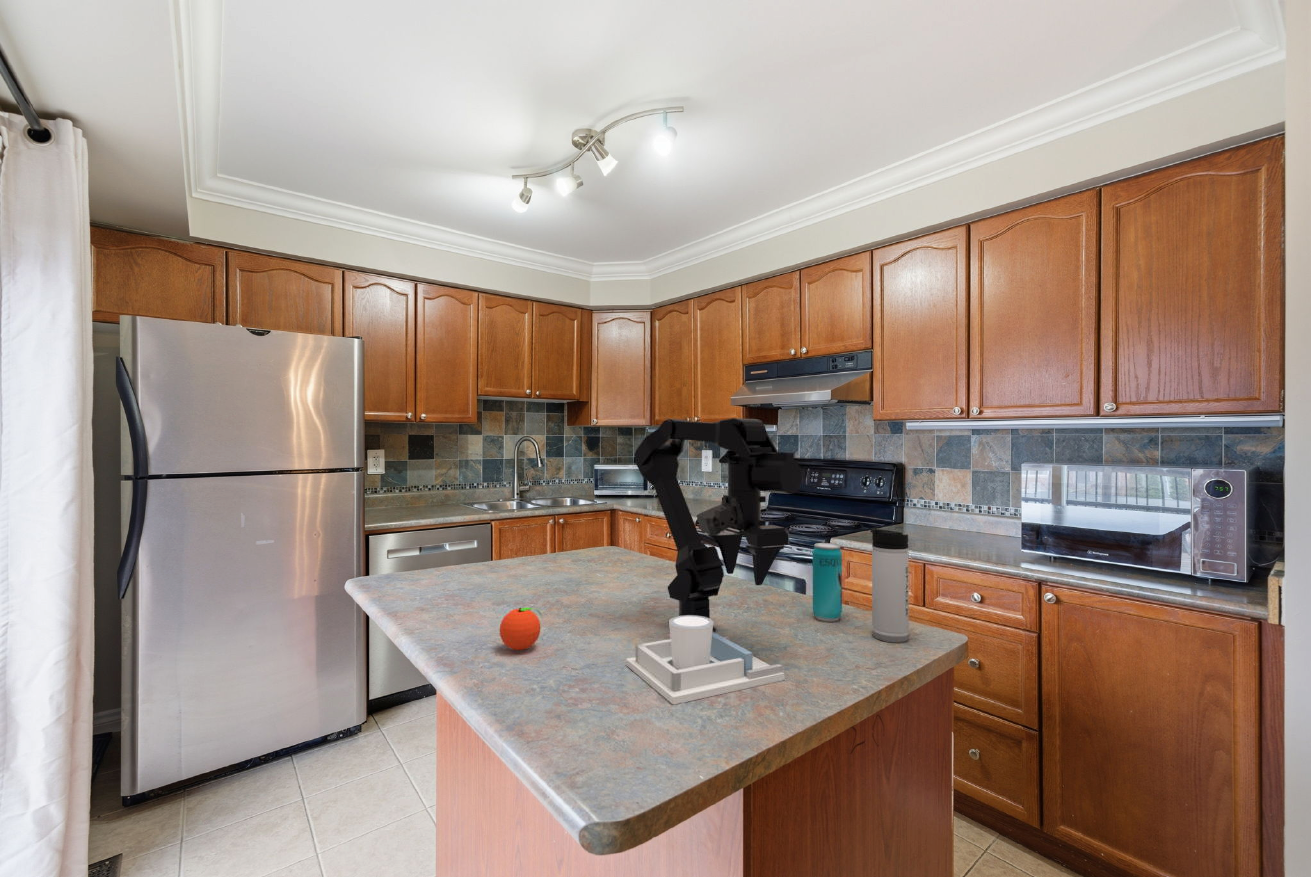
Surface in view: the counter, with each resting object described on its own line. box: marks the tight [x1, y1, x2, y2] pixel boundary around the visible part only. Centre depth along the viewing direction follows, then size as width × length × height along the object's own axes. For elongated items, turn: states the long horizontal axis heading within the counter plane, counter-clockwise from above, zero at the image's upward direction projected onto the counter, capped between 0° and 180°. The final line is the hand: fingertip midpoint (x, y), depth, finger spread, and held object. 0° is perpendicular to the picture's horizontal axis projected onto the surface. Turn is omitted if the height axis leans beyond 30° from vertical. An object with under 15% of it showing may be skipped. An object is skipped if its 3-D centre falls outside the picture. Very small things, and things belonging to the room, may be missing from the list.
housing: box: [625, 635, 785, 705], centre depth 90 cm, size 16×19×4 cm
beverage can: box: [812, 542, 843, 623], centre depth 119 cm, size 6×6×15 cm
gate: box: [710, 631, 754, 676], centre depth 92 cm, size 13×1×3 cm, turn 27°
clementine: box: [499, 607, 543, 651], centre depth 101 cm, size 8×7×7 cm
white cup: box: [668, 615, 714, 670], centre depth 90 cm, size 7×7×7 cm
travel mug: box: [870, 527, 910, 644], centre depth 107 cm, size 6×7×20 cm
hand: (743, 579), depth 102 cm, fingers open, 9 cm apart
